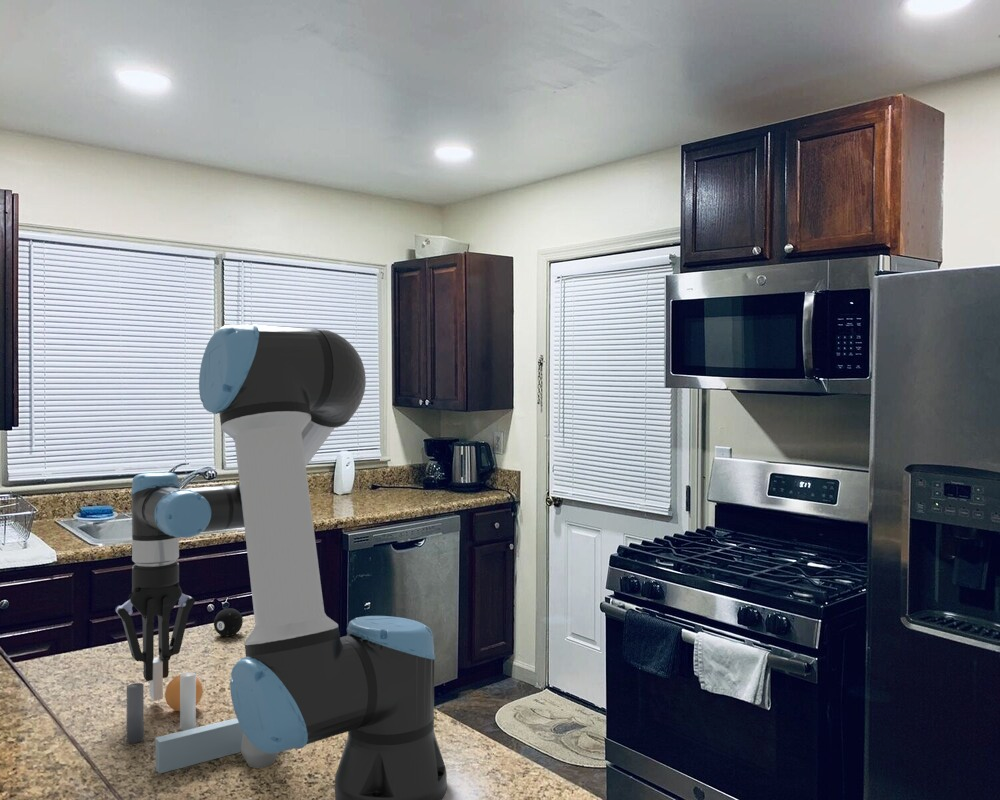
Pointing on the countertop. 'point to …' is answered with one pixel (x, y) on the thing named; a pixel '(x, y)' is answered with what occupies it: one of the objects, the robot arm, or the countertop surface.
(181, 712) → the white pin
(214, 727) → the board
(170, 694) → the ball
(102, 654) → the countertop surface
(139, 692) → the charcoal pin
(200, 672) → the countertop surface
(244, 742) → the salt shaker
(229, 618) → the billiard ball
